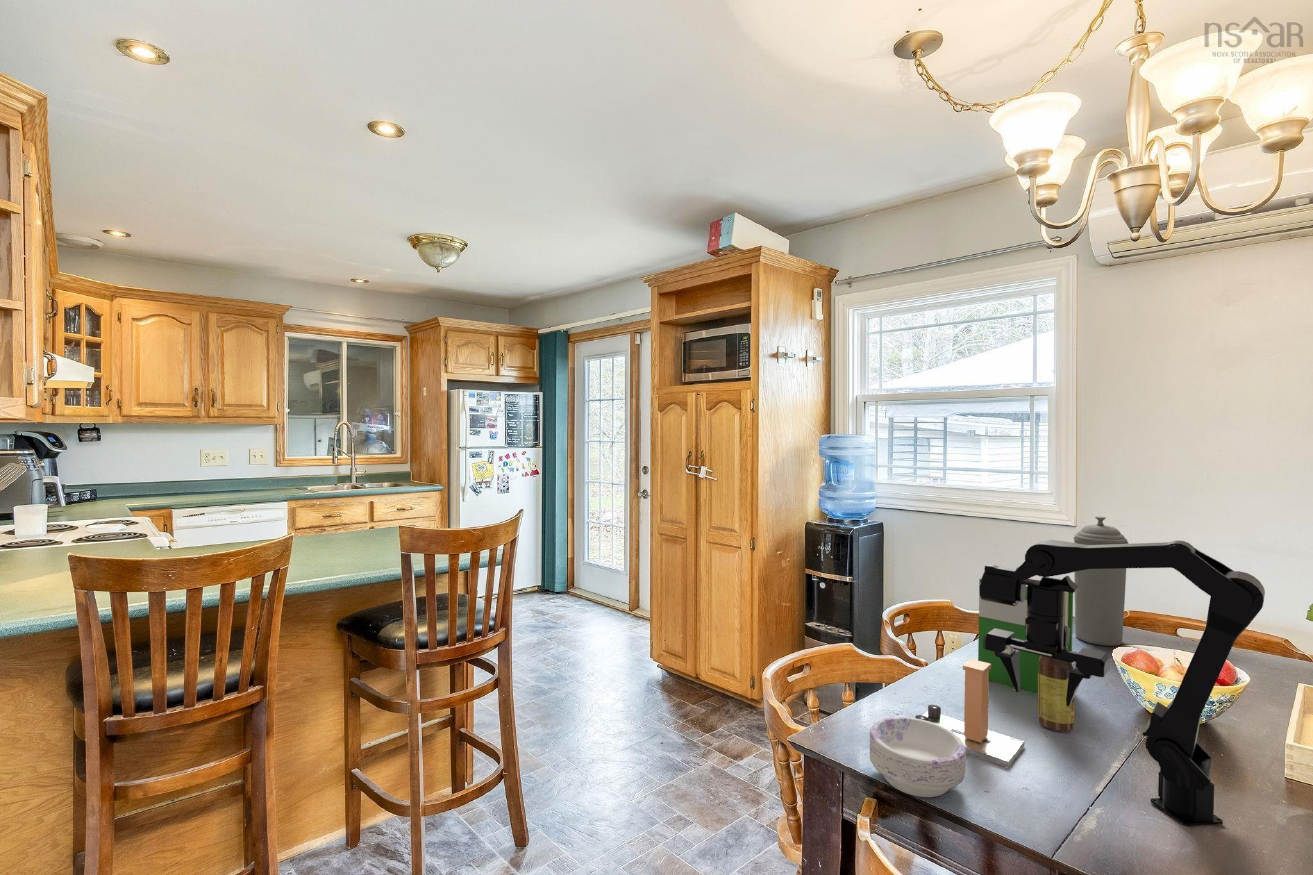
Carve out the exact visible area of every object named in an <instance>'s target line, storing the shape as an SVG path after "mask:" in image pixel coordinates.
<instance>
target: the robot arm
mask: <svg viewBox="0 0 1313 875" xmlns="http://www.w3.org/2000/svg"><path fill="white" fill-rule="evenodd" d="M1118 568H1126V569H1162V568H1163V569H1168V568H1169V569H1170V568H1171V569H1174V570H1175V571H1177V572H1178V573H1180V574H1181V575H1182V576H1183V577H1185V578H1186V579H1187V580H1188V581H1190V582H1191V583H1192V584H1193V585H1194V586H1195V587H1197V588H1199V589H1200V590H1201V591H1202V592H1203V593H1205V594H1207V595H1209V596H1210V597H1209V604H1208V610H1207V616H1206V623H1205V627H1204V630H1203V633H1202V635H1201V637H1200V639H1199V641H1198V644H1197V646H1196V649H1195V650H1194V653H1193V655H1192V657H1191V660H1190V662H1189V664H1188V666H1187V669H1186V671H1185V673H1184V676H1183V678H1182V680H1181V682H1180V684H1179V687H1178V689H1177V692H1176V694H1175V695H1174V698H1173V699H1172V700H1171V701H1170V703H1169V704H1168V705H1167V706H1166V705H1164V704H1163V703H1161V702H1159V701H1157V702H1156V704H1155V705H1154V707H1153V710H1152V712H1151V716H1150V718H1149V719H1148V721H1147V722H1146V725H1145V727H1144V729H1143V731H1142V734H1141V735H1142V736H1144V737H1146V740H1145V743H1144V744H1145V749H1146V751H1147V752H1148V754H1149V755H1150V756H1151V758H1152V759H1153V760H1154V761H1155V762H1157V764H1158V766H1159V768H1160V769H1159V772H1158V778H1157V779H1158V780H1157V781H1158V785H1157V796H1158V797H1151V798H1150V804H1152V805H1154V806H1156V808H1159V809H1160V810H1161V811H1162V812H1165V813H1166V814H1167V815H1168V816H1170V817H1171V818H1172V819H1174V820H1175V821H1176V822H1178V823H1180V824H1181V825H1183V826H1185V827H1195V826H1196V827H1197V826H1213V825H1224V820H1223V819H1222V818H1220V817H1219V816H1217V815H1216V814H1215V812H1214V811H1215V784H1214V783H1213V782H1212V781H1211V774H1212V773H1211V772H1212V768H1213V763H1214V758H1213V757H1212V756H1211V755H1210V754H1209V753H1208V752H1207V751H1206V749H1205V748H1203V746H1202V745H1200V743H1199V742H1198V734H1199V729H1200V723H1201V718H1202V717H1201V716H1202V714H1203V712H1204V710H1205V707H1206V705H1207V703H1208V701H1209V698H1210V696H1211V694H1212V691H1213V690H1214V687H1215V686H1216V683H1217V680H1218V678H1219V676H1220V674H1221V672H1222V670H1223V667H1224V665H1225V663H1226V661H1227V659H1228V657H1229V655H1230V652H1231V651H1232V647H1233V646H1234V644H1235V641H1236V640H1237V638H1238V637H1240V635H1241V634H1242V633H1243V632H1244V631H1245V630H1246V628H1248V627H1249V626H1250V624H1251V623H1252V622H1253V620H1254V619H1255V618H1256V616H1258V614H1259V613H1260V611H1261V610H1262V609H1263V606H1264V604H1265V603H1264V601H1265V596H1266V595H1265V593H1266V592H1265V588H1264V586H1263V583H1262V582H1261V581H1260V580H1259V579H1258V578H1256V577H1255V576H1254V575H1252V574H1250V573H1249V572H1244V571H1238V570H1237V571H1236V570H1234V569H1232V568H1230V567H1228V566H1227V565H1225V564H1224V563H1223V562H1221V561H1219V560H1217V559H1215V558H1213V557H1211V556H1210V555H1208V554H1206V553H1204V552H1202V551H1201V550H1200V549H1198V548H1195V547H1194V546H1193V545H1192V544H1191V543H1190V542H1188V541H1184V540H1173V541H1167V542H1141V543H1140V542H1137V543H1128V544H1110V545H1083V544H1077V543H1074V542H1072V541H1064V540H1054V539H1046V540H1042V541H1039V542H1038V543H1035V544H1033V545H1031V546H1030V547H1028V549H1027V550H1026V552H1025V553H1024V562H1022V563H1021V565H1020V566H1017V567H1016V568H1009V567H1003V566H999V565H996V564H992V563H991V564H986V565H985V566H984V571H983V573H982V576H981V578H982V580H981V583H980V585H979V584H978V586H979V587H978V588H979V590H978V593H979V592H980V597H981V599H982V600H985V601H990V602H995V603H1000V604H1005V605H1010V606H1017V605H1018V603H1019V602H1024V600H1025V597H1026V585H1027V616H1026V618H1025V630H1026V640H1025V641H1024V640H1020V639H1015V634H1014V632H1010V631H1005V630H1001V629H996V628H994V629H993V630H991V631H990V632H989V633H987V634H986V635H984V638H983V648H984V649H986V650H990V651H994V652H995V653H994V655H995V656H996V657H999V658H1000V659H1001V661H1002V663H1003V665H1004V666H1005V668H1006V670H1007V672H1008V674H1009V676H1010V679H1011V681H1012V684H1013V686H1014V688H1013V689H1014V690H1015V693H1019V692H1020V691H1021V690H1020V667H1019V657H1020V651H1024V652H1028V653H1033V654H1037V655H1041V656H1045V657H1050V658H1054V659H1058V660H1062V661H1067V662H1071V663H1072V665H1073V668H1072V669H1071V671H1070V672H1069V678H1068V686H1067V695H1066V706H1070V704H1071V702H1072V700H1073V698H1074V699H1075V695H1076V693H1077V690H1078V688H1079V686H1080V684H1081V683H1082V681H1083V679H1085V680H1090V679H1091V678H1092V677H1093V676H1094V677H1098V678H1105V676H1106V675H1107V674H1108V672H1109V671H1110V669H1111V657H1110V656H1109V655H1108V652H1105V651H1100V650H1095V649H1091V648H1087V647H1082V648H1081V649H1080V651H1079V652H1077V651H1073V650H1072V651H1068V650H1064V649H1063V647H1066V646H1067V645H1069V636H1070V628H1069V627H1067V626H1065V620H1064V618H1065V617H1064V604H1065V592H1070V593H1073V594H1075V591H1076V590H1078V589H1079V586H1078V585H1076V584H1075V582H1074V581H1073V579H1071V578H1070V575H1067V574H1072V573H1074V572H1076V571H1081V570H1086V569H1118ZM1062 575H1066V576H1064V577H1063V578H1060V579H1059V578H1055V577H1056V576H1062ZM1036 576H1038V577H1041V578H1040V580H1038V579H1033V577H1036ZM1054 576H1055V577H1054ZM1056 653H1057V654H1056Z"/></svg>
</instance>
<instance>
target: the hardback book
mask: <svg viewBox="0 0 1313 875" xmlns="http://www.w3.org/2000/svg"><path fill="white" fill-rule="evenodd" d="M978 580H979V581H978V582H979V584H978V586H979V585H980V583H981V580H982V577H980V578H979V579H978ZM978 594H979V595H978V596H979V597H978V637H977V638H978V642H977V643H978V644H977V645H978V648H977V649H978V650H977V651H978V652H977V653H978V654H977V655H978V656H977V657H978V658H977V661H981V662H986V663H990V664H991V669H989V682H992V683H995V684H998V685H1001V686H1002V685H1003V686H1006V687H1010V688H1013V689H1015V688H1014V686H1013V684H1012V681H1011V679H1010V676H1009V674H1008V672H1007V670H1006V668H1005V666H1004V665H1003V663H1002V661H1001V659H1000V658H999V657H996V656H995V655H994V653H995V652H994V651H990V650H986V649H984V648H983V638H984V635H986V634H987V633H989V632H990V631H991V630H993V629H994V628H996V629H1001V630H1005V631H1010V632H1014V634H1015V639H1020V640H1024V641H1025V640H1026V630H1025V618H1026V616H1027V585H1026V597H1025V600H1024V602H1019V603H1018V605H1017V606H1010V605H1005V604H1000V603H995V602H990V601H985V600H982V599H981V597H980V592H979V591H978ZM1064 617H1065V618H1064V620H1065V626H1067V627H1069V628H1070V636H1069V645H1067V650H1068V651H1073V633H1074V632H1073V628H1074V623H1073V622H1074V620H1073V619H1074V593H1070V592H1065V604H1064ZM1040 656H1041V655H1037V654H1033V653H1028V652H1024V651H1020V657H1019V667H1020V691H1023V690H1024V691H1025V692H1028V693H1031V694H1035V695H1038V672H1039V658H1040Z"/></svg>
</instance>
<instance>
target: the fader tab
mask: <svg viewBox="0 0 1313 875" xmlns="http://www.w3.org/2000/svg"><path fill="white" fill-rule="evenodd" d="M989 669H991V664H990V663H986V662H981V661H978V659H973V658H970V659H969V660H968V661H967V662H965V663H964V664H962V670H964V704H963V705H964V707H963V708H964V710H963V711H964V715H963V722H964V737H965V738H968V739H971V740H974V741H977V742H980V743H981V742H982V741H983V740H984V739H985V738H986V737H987V736H988V730H989V692H990V691H989V689H990V688H989V687H990V686H989V683H990V681H989Z"/></svg>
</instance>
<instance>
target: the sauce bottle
mask: <svg viewBox="0 0 1313 875" xmlns="http://www.w3.org/2000/svg"><path fill="white" fill-rule="evenodd" d="M1063 649H1064V650H1067V646H1066V647H1063ZM1056 654H1057V653H1056ZM1073 667H1074V666H1073V663H1071V662H1067V661H1062V660H1058V659H1054V658H1050V657H1045V656H1040V658H1039V672H1038V694H1037V698H1038V699H1037V700H1038V701H1037V702H1038V704H1037V705H1038V706H1037V707H1038V709H1037V710H1038V714H1037V715H1038V721H1039V723H1040V725H1042V726H1043V727H1044V728H1045V729H1048V730H1051V731H1055V732H1060V733H1061V732H1063V733H1068V732H1071V731H1073V729H1074V725H1075V724H1074V723H1075V701H1076V700H1075V697H1074V698H1073V700H1072V702H1071V704H1070V706H1066V695H1067V686H1068V678H1069V672H1070V671H1071V669H1072V668H1073Z"/></svg>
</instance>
